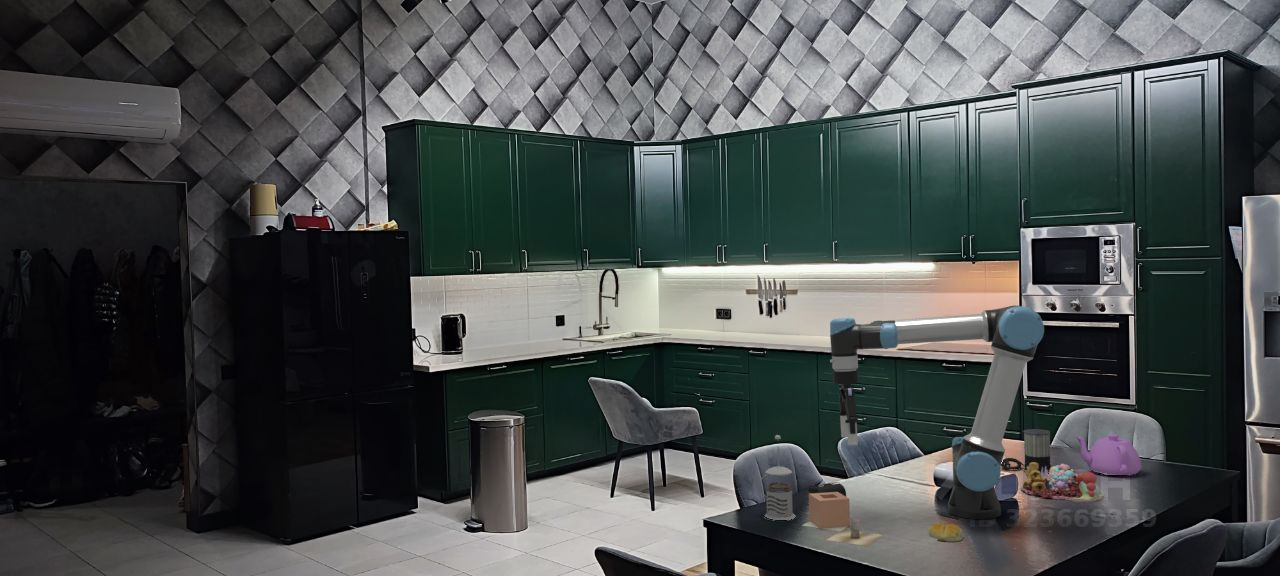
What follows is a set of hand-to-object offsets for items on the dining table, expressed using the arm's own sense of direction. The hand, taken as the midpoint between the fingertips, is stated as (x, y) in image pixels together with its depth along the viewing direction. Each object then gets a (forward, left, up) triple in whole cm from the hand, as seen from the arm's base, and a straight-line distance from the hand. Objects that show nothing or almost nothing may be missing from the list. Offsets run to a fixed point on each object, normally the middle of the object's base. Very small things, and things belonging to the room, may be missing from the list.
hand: (849, 440), depth 274 cm
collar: (+3, +9, -23) cm, 25 cm away
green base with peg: (+3, +9, -24) cm, 26 cm away
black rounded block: (+13, -12, -24) cm, 30 cm away
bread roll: (-30, +5, -24) cm, 39 cm away
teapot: (-54, -102, -24) cm, 118 cm away
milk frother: (-29, -93, -24) cm, 100 cm away
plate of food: (-46, -65, -24) cm, 83 cm away
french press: (+21, +7, -24) cm, 33 cm away
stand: (-9, +19, -24) cm, 32 cm away
